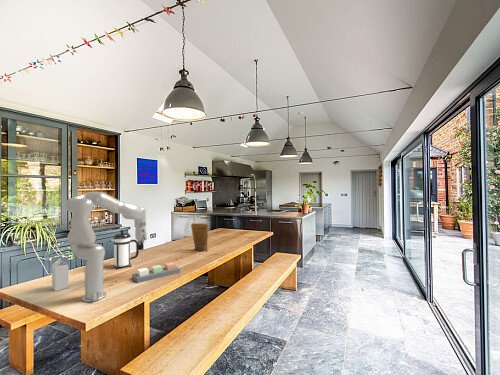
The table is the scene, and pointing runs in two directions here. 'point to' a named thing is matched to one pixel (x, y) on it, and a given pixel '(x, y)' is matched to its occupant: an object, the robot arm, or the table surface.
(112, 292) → the table surface
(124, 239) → the coffee press
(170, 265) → the terracotta key
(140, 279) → the key console
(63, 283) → the milk carton
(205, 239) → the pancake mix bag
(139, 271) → the cream key
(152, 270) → the sage key
